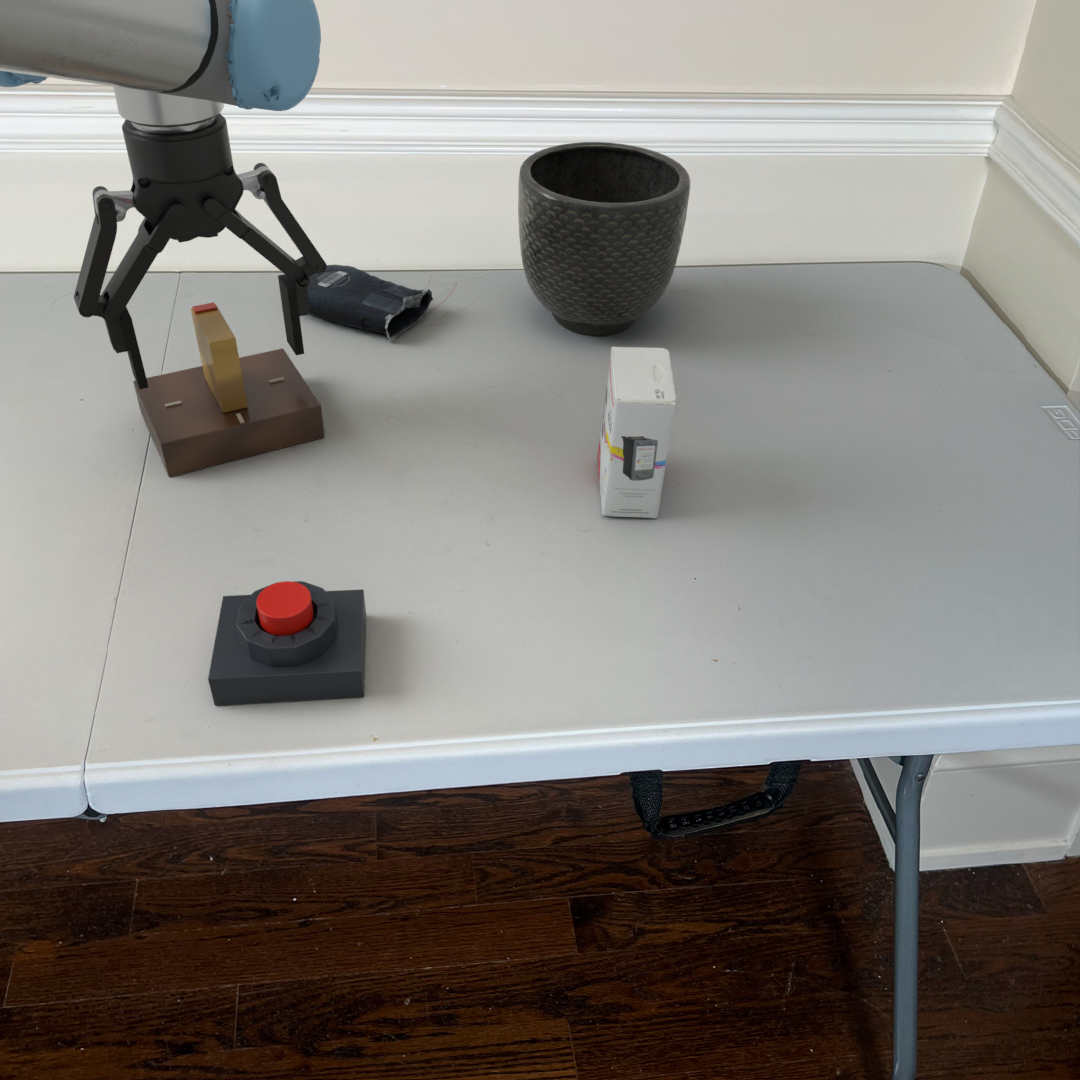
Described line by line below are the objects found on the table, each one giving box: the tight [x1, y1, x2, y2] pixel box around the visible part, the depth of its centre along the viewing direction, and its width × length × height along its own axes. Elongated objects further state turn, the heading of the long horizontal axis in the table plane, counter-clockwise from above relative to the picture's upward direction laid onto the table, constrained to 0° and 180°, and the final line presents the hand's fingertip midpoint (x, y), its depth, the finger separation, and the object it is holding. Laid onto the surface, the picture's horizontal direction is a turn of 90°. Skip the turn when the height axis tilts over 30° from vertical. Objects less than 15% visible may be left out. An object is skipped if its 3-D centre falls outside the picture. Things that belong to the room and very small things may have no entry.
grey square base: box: [207, 580, 367, 707], centre depth 72 cm, size 10×8×4 cm
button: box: [256, 580, 314, 636], centre depth 70 cm, size 4×4×2 cm
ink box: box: [596, 345, 677, 519], centre depth 86 cm, size 9×5×12 cm, turn 0°
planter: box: [517, 141, 691, 336], centre depth 108 cm, size 17×17×16 cm
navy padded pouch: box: [307, 264, 434, 343], centre depth 111 cm, size 9×6×15 cm
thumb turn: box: [190, 302, 248, 413], centre depth 90 cm, size 6×2×7 cm, turn 28°
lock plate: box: [132, 348, 326, 478], centre depth 94 cm, size 14×11×4 cm
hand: (220, 364), depth 91 cm, fingers open, 13 cm apart
